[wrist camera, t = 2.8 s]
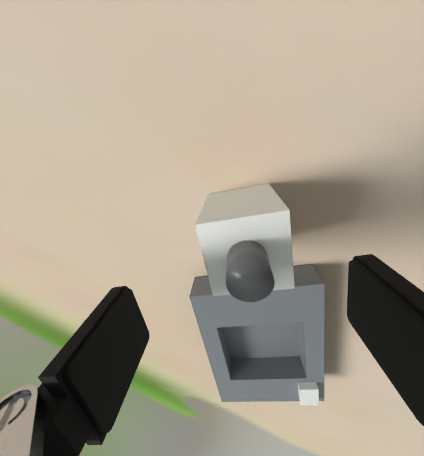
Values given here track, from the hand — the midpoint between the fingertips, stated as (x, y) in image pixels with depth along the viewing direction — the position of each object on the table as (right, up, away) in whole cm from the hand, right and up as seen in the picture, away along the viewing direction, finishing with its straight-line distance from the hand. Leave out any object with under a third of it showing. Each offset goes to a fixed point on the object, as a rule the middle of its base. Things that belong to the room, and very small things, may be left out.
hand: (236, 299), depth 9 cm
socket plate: (+4, -7, +11) cm, 14 cm away
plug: (+1, +4, +7) cm, 8 cm away
